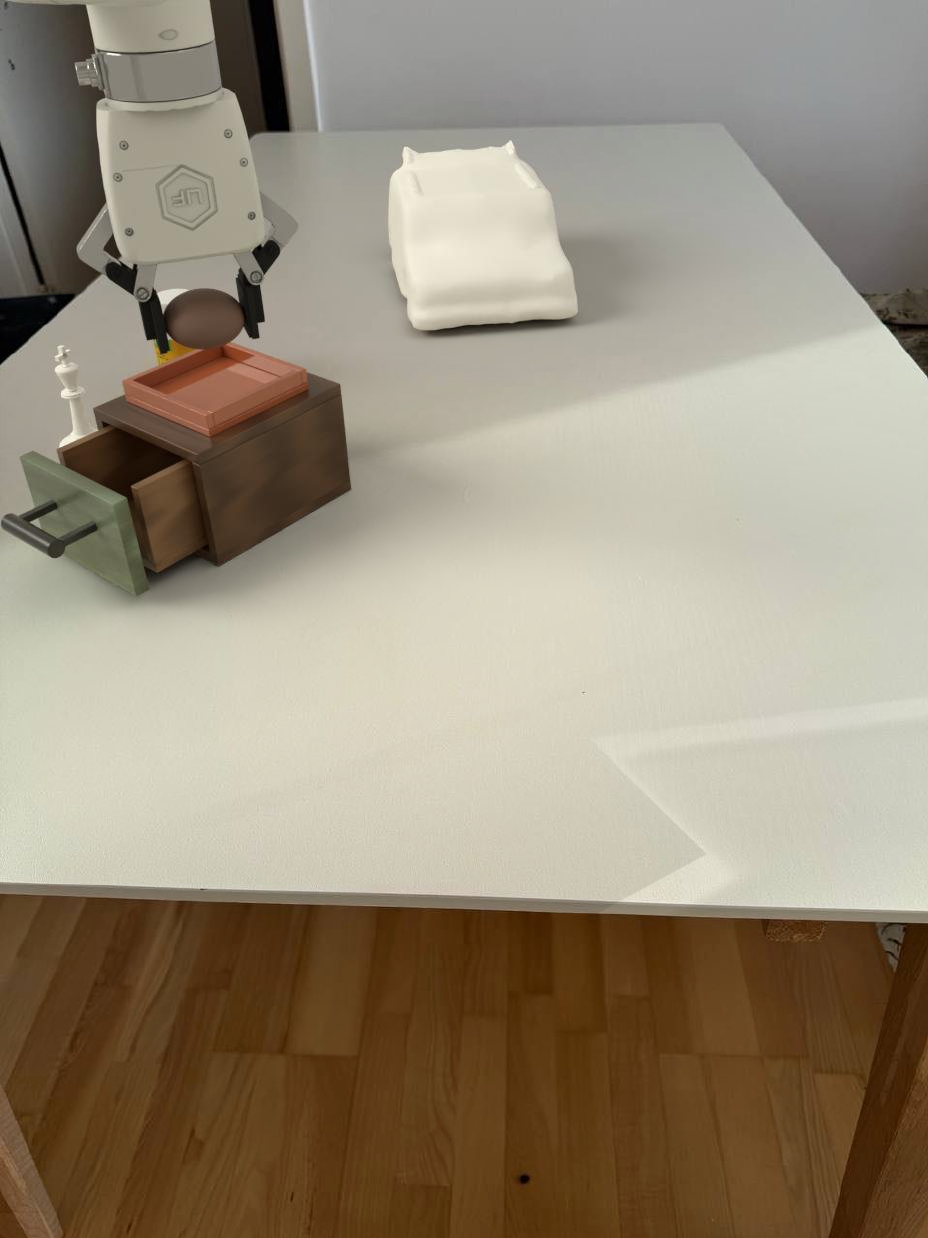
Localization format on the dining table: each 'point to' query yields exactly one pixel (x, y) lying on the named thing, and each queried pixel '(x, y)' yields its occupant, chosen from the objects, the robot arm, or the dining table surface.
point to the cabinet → (254, 463)
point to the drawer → (112, 507)
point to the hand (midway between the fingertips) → (207, 337)
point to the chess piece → (72, 396)
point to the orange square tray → (215, 387)
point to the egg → (203, 318)
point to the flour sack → (476, 240)
